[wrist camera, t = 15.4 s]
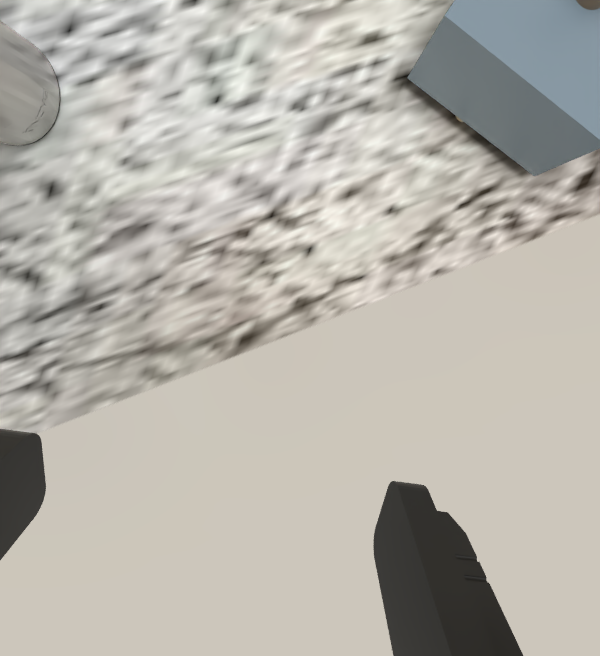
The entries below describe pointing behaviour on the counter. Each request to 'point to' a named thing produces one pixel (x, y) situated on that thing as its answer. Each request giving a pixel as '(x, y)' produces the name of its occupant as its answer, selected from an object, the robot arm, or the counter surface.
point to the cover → (520, 75)
